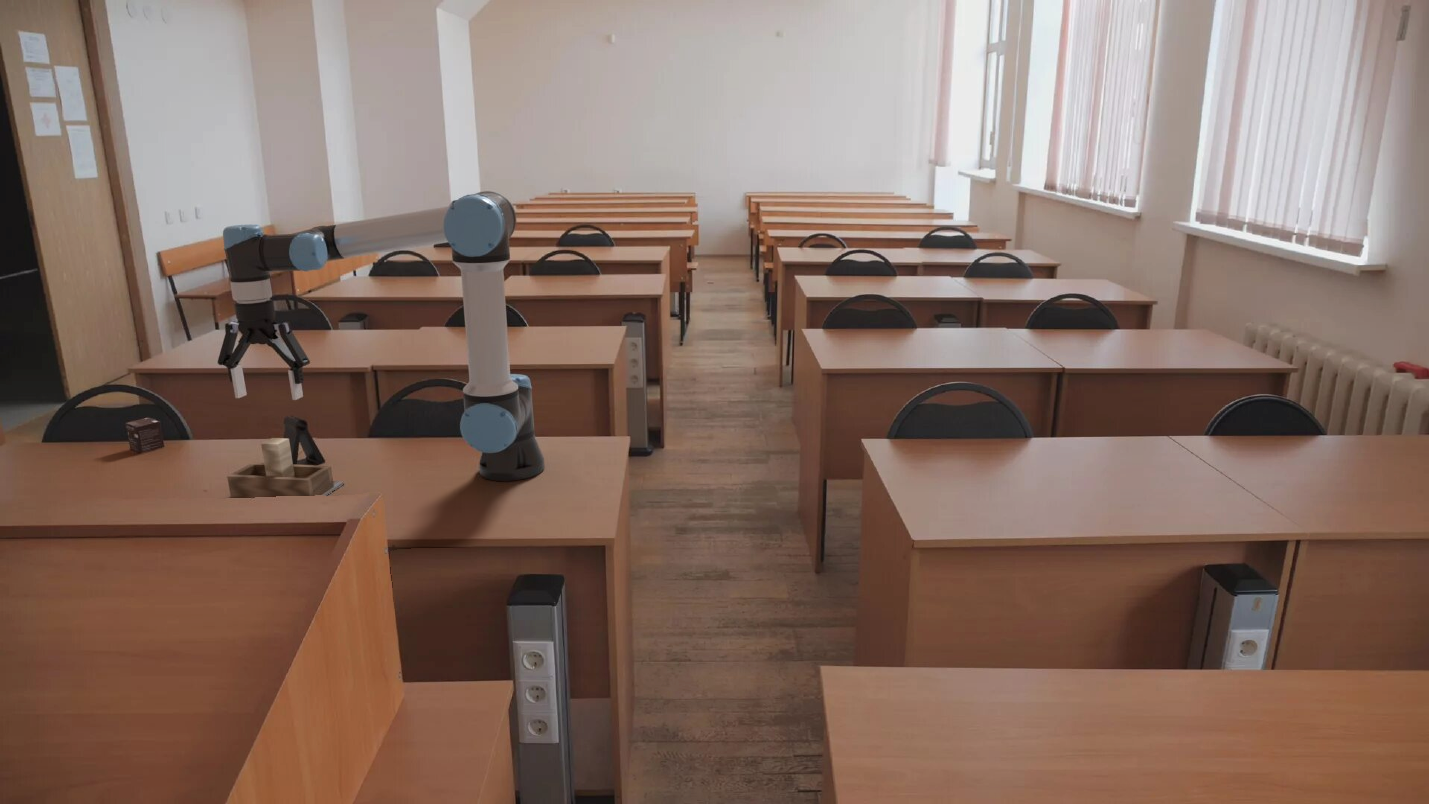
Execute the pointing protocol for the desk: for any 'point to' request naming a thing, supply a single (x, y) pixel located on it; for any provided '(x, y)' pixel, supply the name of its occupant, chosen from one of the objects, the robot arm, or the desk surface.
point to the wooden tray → (282, 482)
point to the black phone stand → (301, 442)
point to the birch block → (278, 458)
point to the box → (144, 435)
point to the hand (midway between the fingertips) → (269, 397)
